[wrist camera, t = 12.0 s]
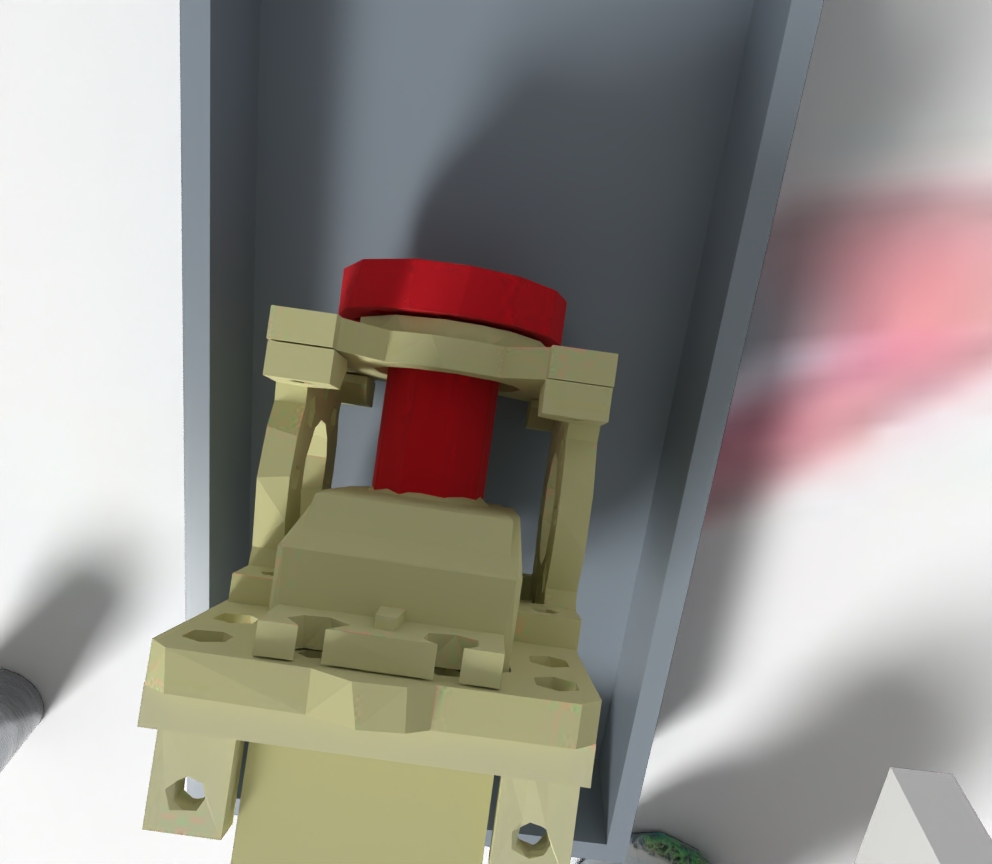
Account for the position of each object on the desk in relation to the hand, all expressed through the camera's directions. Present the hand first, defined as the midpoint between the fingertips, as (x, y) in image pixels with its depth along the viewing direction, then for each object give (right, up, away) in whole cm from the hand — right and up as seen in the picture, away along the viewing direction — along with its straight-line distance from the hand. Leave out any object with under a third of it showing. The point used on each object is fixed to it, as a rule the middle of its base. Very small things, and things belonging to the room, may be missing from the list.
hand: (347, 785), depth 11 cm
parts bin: (+1, +6, +17) cm, 18 cm away
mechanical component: (0, +5, +17) cm, 18 cm away
